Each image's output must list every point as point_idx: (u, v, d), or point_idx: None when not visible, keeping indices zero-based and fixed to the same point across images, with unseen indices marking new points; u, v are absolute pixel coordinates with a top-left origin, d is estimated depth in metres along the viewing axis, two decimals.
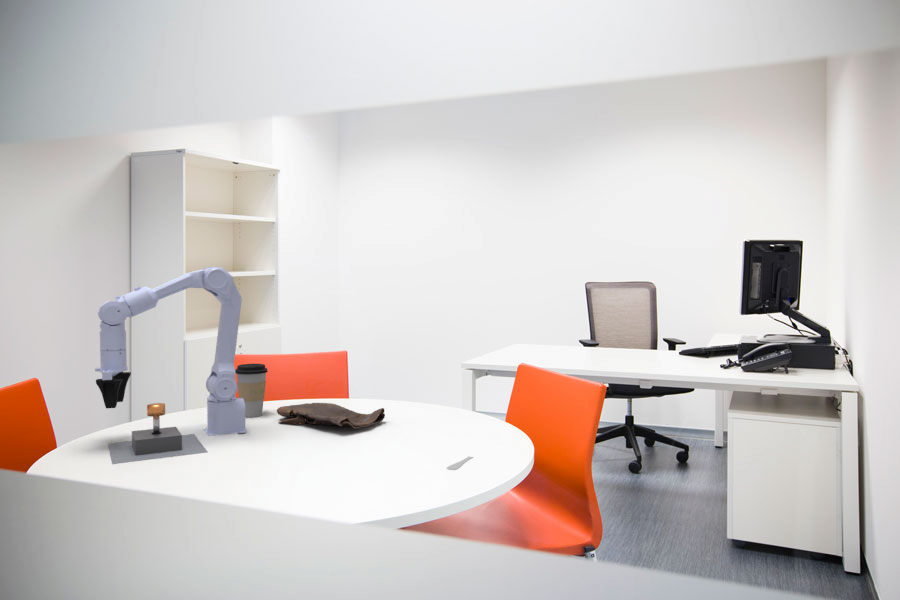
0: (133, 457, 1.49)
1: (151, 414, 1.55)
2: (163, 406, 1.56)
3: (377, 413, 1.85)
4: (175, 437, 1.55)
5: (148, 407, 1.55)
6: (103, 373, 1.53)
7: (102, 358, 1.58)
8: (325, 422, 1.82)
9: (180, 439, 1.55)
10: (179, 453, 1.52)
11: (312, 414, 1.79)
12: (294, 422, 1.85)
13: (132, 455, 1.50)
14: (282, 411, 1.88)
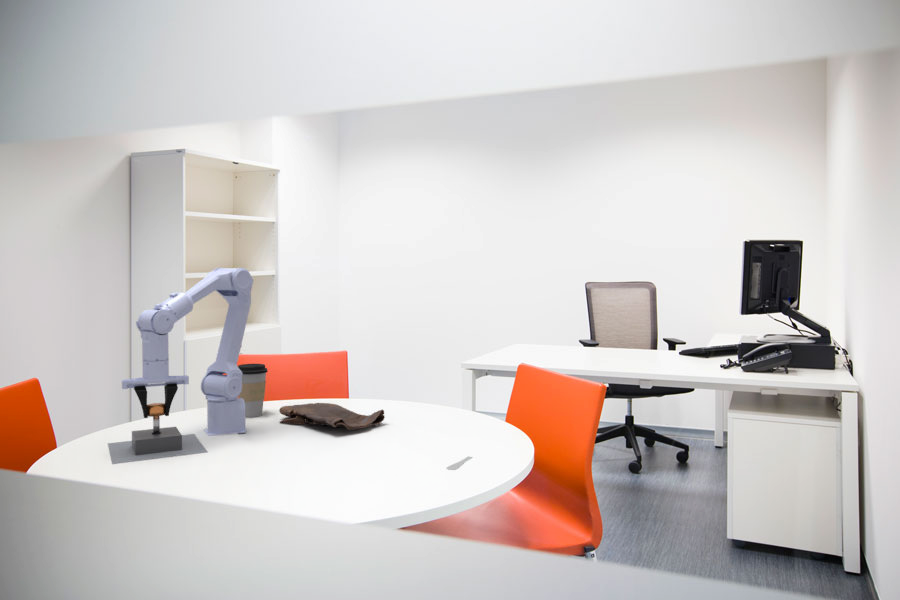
0: (133, 457, 1.49)
1: (151, 414, 1.55)
2: (163, 406, 1.56)
3: (376, 415, 1.83)
4: (175, 437, 1.55)
5: (148, 407, 1.55)
6: None
7: None
8: (324, 423, 1.82)
9: (180, 439, 1.55)
10: (179, 453, 1.52)
11: (310, 414, 1.79)
12: (294, 422, 1.85)
13: (132, 455, 1.50)
14: (284, 411, 1.88)
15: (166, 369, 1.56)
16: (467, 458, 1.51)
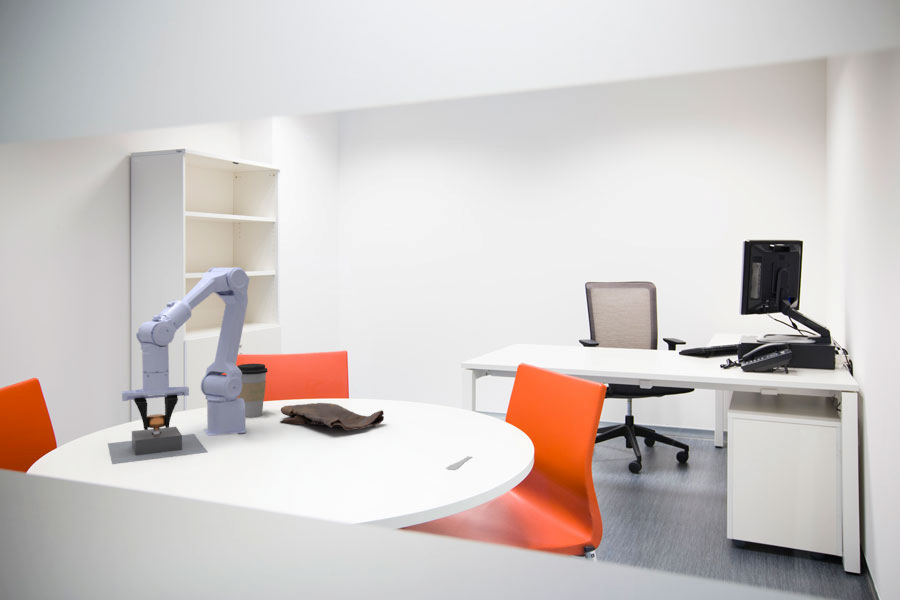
0: (133, 457, 1.49)
1: (151, 426, 1.55)
2: (163, 418, 1.57)
3: (375, 415, 1.82)
4: (175, 437, 1.55)
5: (148, 419, 1.55)
6: (122, 393, 1.54)
7: None
8: (323, 423, 1.82)
9: (180, 439, 1.55)
10: (179, 453, 1.52)
11: (308, 414, 1.79)
12: (294, 422, 1.85)
13: (132, 455, 1.50)
14: (285, 410, 1.89)
15: (166, 381, 1.56)
16: (467, 458, 1.51)
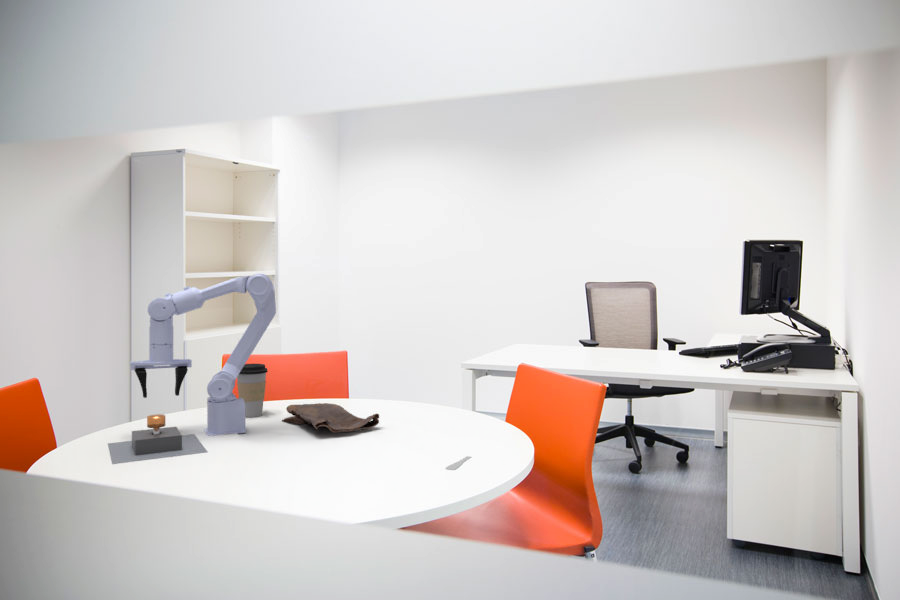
0: (133, 457, 1.49)
1: (151, 426, 1.55)
2: (163, 418, 1.57)
3: (369, 418, 1.78)
4: (175, 437, 1.55)
5: (148, 419, 1.55)
6: (130, 363, 1.67)
7: None
8: None
9: (180, 439, 1.55)
10: (179, 453, 1.52)
11: (303, 414, 1.79)
12: (295, 421, 1.86)
13: (132, 455, 1.50)
14: (288, 409, 1.90)
15: (171, 353, 1.69)
16: (466, 458, 1.51)
